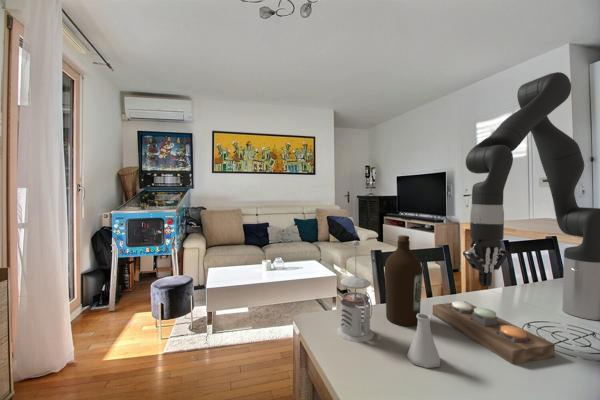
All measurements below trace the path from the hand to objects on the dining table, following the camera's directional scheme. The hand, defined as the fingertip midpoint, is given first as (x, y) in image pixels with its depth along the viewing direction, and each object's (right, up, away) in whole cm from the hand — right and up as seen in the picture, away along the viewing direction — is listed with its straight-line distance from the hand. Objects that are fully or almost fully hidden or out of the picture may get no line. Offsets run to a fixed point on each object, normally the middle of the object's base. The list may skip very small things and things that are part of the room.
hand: (484, 285), depth 76 cm
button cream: (-2, -12, +8) cm, 15 cm away
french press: (-35, -13, 0) cm, 37 cm away
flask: (-22, -14, -12) cm, 28 cm away
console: (0, -13, 0) cm, 13 cm away
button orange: (+2, -12, -8) cm, 15 cm away
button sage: (0, -11, 0) cm, 11 cm away
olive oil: (-19, -13, +8) cm, 24 cm away
